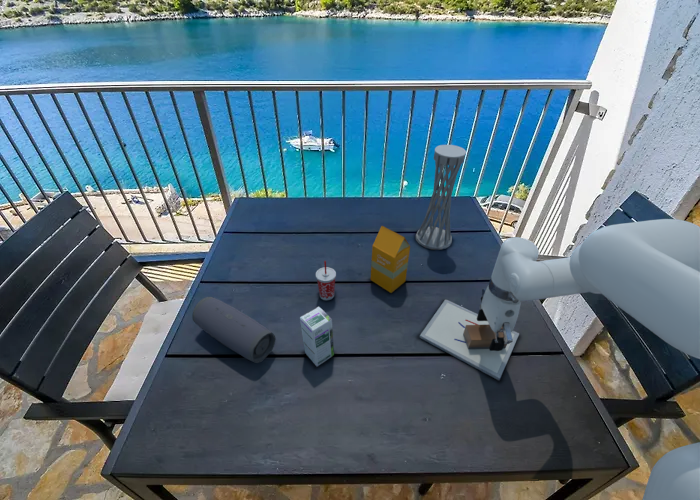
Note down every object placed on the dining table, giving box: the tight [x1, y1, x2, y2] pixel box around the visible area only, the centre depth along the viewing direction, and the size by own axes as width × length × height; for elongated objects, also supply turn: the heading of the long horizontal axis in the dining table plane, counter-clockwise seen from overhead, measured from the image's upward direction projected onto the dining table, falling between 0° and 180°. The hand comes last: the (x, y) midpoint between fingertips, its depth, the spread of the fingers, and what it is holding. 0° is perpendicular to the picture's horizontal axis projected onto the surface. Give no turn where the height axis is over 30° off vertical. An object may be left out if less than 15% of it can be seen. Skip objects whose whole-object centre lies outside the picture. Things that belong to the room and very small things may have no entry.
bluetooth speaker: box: [191, 296, 276, 364], centre depth 93 cm, size 23×9×10 cm, turn 57°
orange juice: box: [370, 225, 411, 294], centre depth 108 cm, size 8×9×20 cm
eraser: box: [463, 325, 507, 349], centre depth 93 cm, size 5×10×4 cm, turn 92°
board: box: [419, 299, 520, 381], centre depth 96 cm, size 22×17×1 cm
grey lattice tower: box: [415, 144, 467, 250], centre depth 122 cm, size 14×13×35 cm
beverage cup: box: [315, 260, 337, 301], centre depth 105 cm, size 6×6×14 cm
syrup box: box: [299, 306, 335, 367], centre depth 88 cm, size 6×6×14 cm
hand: (488, 334), depth 92 cm, fingers open, 9 cm apart
